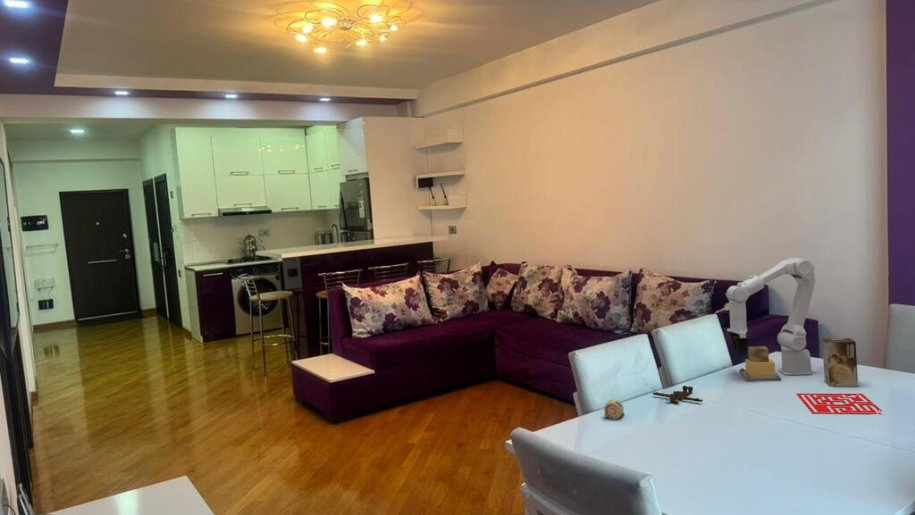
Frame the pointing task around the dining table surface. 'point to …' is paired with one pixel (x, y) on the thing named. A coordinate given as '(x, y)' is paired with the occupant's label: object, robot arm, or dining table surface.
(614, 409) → the cinnamon roll
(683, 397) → the brown crossed rod frame
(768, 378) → the base plate
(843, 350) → the coffee box
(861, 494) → the dining table surface
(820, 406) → the maze puzzle
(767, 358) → the walnut block
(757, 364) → the brick
